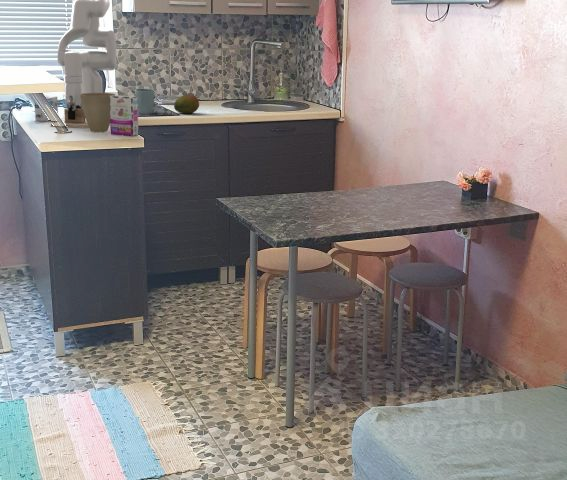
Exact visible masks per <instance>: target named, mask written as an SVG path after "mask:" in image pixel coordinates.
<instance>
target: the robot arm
mask: <svg viewBox="0 0 567 480" xmlns="http://www.w3.org/2000/svg"><path fill="white" fill-rule="evenodd" d="M110 4H111V0H72V8H71V10H72V11H71V19H70V21H71V22H70V28H69V29H68V30H67V31H66V32H65V33H64V34H63V36H62V37H61V38H60V40H59V43H58V47H57V63H58V65H59V66H60V67H64V82H65V105H66V106H67V108H68V109H67V108H66V109H67V110H68V119H69V120H75V111H74V109H75V108H77V109H83V108H82V103H81V98H80V94H83V93H104V92H103V85H104V84H103V78H102V76H101V75H100V73H99V72H98V71H114V70H116V68H117V64H118V63H117V59H118V58H117V41H116V40H117V39H116V34H115V31H114V29H112V28H110V27H101V26H100V19H101V18H103V17H105V15H106V14H107V12H108V10H109V8H110ZM80 38H81V40H82V44H83V45H84V47H88V48H98V49H87V50H75V49H67V48H68V46H69V44H70V43H72V42H74V41H76V40H79V39H80ZM100 48H101V49H105V50H100Z"/></svg>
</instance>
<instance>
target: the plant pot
mask: <svg viewBox="0 0 567 480" xmlns="http://www.w3.org/2000/svg"><path fill="white" fill-rule="evenodd" d="M113 95H116V94H115V93H111V92H103V93H83V92H82V94H80V98H81V103H82V104H81V105H82V109H83V112H84V115H85V119H86V121H87V124H88V126H89V128H88V129H89V130H90V132H93V133H106V132H108V131H109V130H110V96H113Z"/></svg>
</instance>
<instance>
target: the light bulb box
mask: <svg viewBox="0 0 567 480" xmlns="http://www.w3.org/2000/svg"><path fill="white" fill-rule="evenodd" d="M44 96H45V97H46V99H47V100H48V101H49V103H50V104H51V105H52V106H53V108H54V109H55V110H56V111H57V113H58V114H59V108H58V96H51V95H44ZM34 116H35V121H38V122H49V121H48V118H47V116H46V115H45V113H44V112H43V111H42V110H41V109H40V108H39V106H38V105H37V104H36V103H35V102H34Z"/></svg>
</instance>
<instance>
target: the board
mask: <svg viewBox="0 0 567 480" xmlns="http://www.w3.org/2000/svg"><path fill="white" fill-rule="evenodd" d="M62 120H63V119H62ZM63 121H64V123H65V119H64V120H63ZM52 123H53V122H51V123H50V127H54V126H53V125H52ZM65 124H66V126H68V127H67V128H83V129H89V126H88V124H87V121H86V122H85V123H65Z"/></svg>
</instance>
